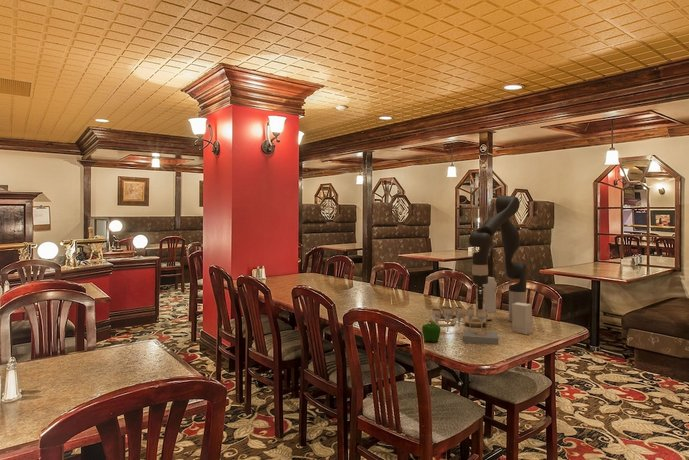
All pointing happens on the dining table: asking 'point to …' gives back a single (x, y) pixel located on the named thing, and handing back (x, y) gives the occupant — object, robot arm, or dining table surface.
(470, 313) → the goblet set
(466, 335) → the notched board
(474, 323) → the tableware set
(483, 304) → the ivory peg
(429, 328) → the bell pepper
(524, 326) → the skincare box
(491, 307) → the tall pale column
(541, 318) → the dining table surface
